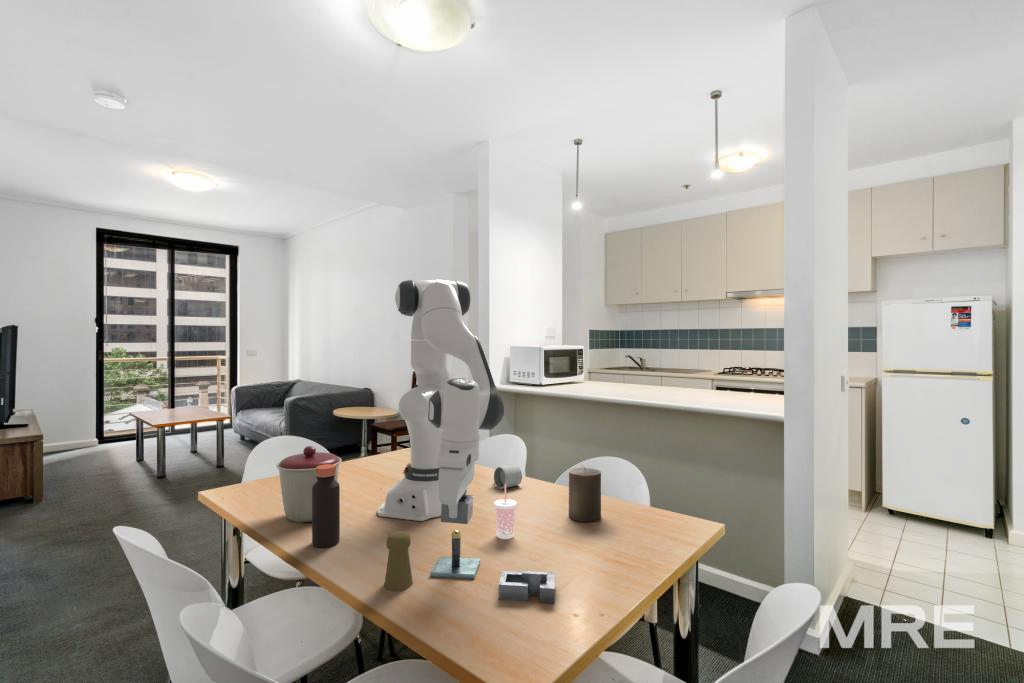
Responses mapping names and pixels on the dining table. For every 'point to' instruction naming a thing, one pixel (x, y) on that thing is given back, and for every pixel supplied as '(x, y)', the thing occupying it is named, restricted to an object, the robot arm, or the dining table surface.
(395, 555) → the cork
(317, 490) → the bottle
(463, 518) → the end link
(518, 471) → the ceramic mug
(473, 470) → the robot arm
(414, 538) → the dining table surface
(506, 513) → the beverage cup
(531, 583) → the chain tail
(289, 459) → the canister
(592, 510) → the pillar candle
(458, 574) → the grey plate with post
